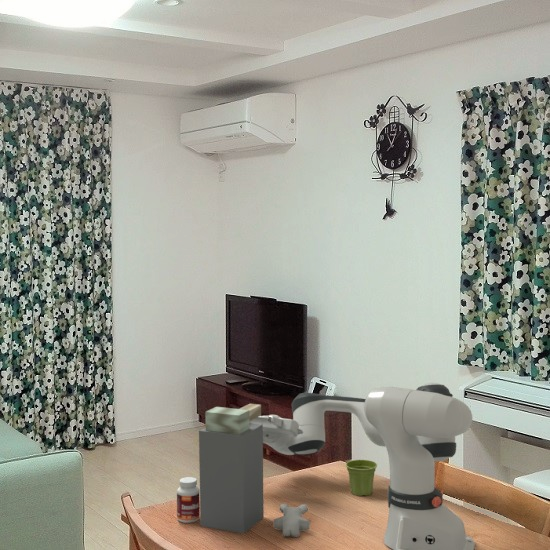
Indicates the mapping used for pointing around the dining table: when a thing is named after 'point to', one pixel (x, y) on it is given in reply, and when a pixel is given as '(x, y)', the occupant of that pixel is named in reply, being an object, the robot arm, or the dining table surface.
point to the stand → (231, 479)
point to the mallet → (231, 418)
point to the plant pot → (361, 476)
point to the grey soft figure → (292, 520)
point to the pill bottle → (188, 500)
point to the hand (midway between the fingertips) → (255, 417)
